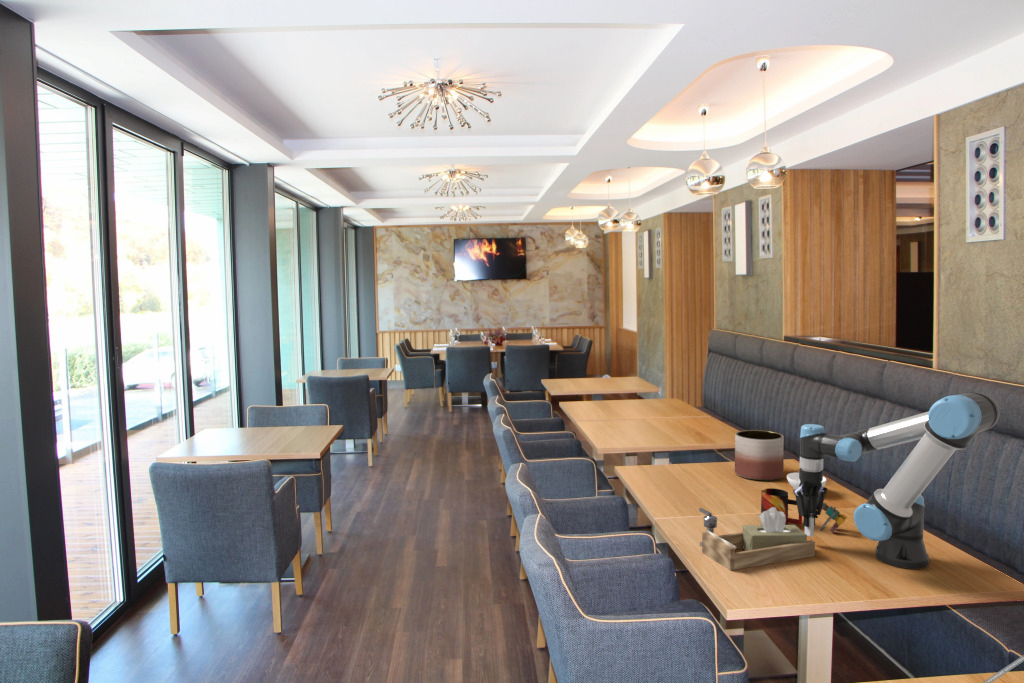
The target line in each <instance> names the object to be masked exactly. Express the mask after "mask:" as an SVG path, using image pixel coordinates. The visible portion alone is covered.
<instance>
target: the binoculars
mask: <svg viewBox="0 0 1024 683" xmlns="http://www.w3.org/2000/svg"><path fill="white" fill-rule="evenodd" d="M822 510H823V511H825V514H826V515H827V516H828V518H827V519H826V521H824V523H823V524H822V525H821V527H819V530H820V531H821V530H823V529H824V527H826V526H827V524H828V523H829V522H832V520H833V521H835V523H833V525H832V526H831V528H830V529H829V531H830V532H831V533H832V534H834V533H835V532H836V530H837V529H838V528H839V526H841V525H842V524H843V523H845V522H846V520H847V519H848V516H846V515H845V514H844V513H841V511H839V510H838V509H837V508H836V506H832V505H828V503H826V502H824V501H823V506H822ZM822 510H821V511H822Z"/></svg>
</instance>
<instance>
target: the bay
mask: <svg viewBox="0 0 1024 683" xmlns="http://www.w3.org/2000/svg"><path fill="white" fill-rule="evenodd" d="M701 542H702V546H701V547H702V548H701V552H702V554H704V555H706V556H707V557H709V558H710V559H712V560H713V561H715V562H717V564H720V565H721V566H722V567H725V568H726V569H727V570H728V571H735V570H740V569H745V568H753V567H758V566H764V565H769V564H774V563H781V562H787V561H793V560H798V559H803V558H810V557H815V556H816V541H815V540H813V539H810V540H807V542H802V543H791V544H785V545H779V546H773V547H767V548H761V549H755V550H749V551H746V550H743V551H737V552H735V550H736V549H742V548H743V533H742V531H741V532H734V533H728V534H721V535H717V534H715V533H714V534H713V533H712V532H710V531H708V530H707V529H706V530H705V532H704V531H703V532H702V534H701ZM743 549H744V548H743Z"/></svg>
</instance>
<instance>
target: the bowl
mask: <svg viewBox="0 0 1024 683" xmlns="http://www.w3.org/2000/svg"><path fill="white" fill-rule="evenodd" d="M786 479H787V482H788V483H789V485H790V486H791V487H792V488H793V490H794V489H795V490H797V489H798V488H799V484H800V479H799V471H798V472H790V473H787V475H786ZM821 483H822V486H823V487H825V486H826V484H827V478H826V477H825V476H823V481H822V482H821Z"/></svg>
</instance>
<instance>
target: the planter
mask: <svg viewBox="0 0 1024 683" xmlns="http://www.w3.org/2000/svg"><path fill="white" fill-rule="evenodd" d="M734 440H735V441H734V442H735V443H734V473H735V474H736V475H738V476H739V477H741V478H744V479H746V480H747V479H748V480H751V481H752V480H753V481H761V482H762V481H763V482H767V481H776V480H779V479H781V478H782V477H784V470H785V469H784V465H785V462H784V444H785V443H784V442H785V441H784V434H781V433H779V432H776V431H775V432H774V431H771V430H761V429H760V430H759V429H744V430H739V431H736V432H735V437H734Z"/></svg>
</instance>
